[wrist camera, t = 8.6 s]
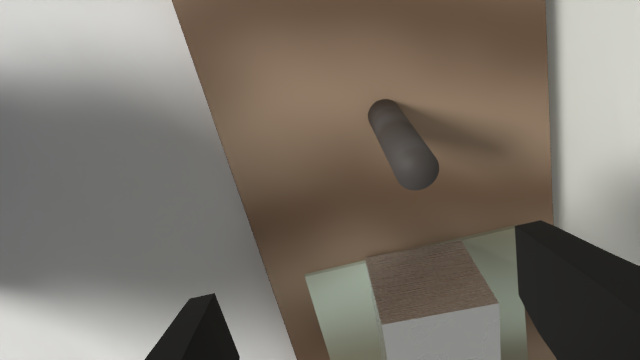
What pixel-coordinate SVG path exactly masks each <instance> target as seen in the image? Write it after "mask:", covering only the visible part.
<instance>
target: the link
mask: <svg viewBox="0 0 640 360" xmlns="http://www.w3.org/2000/svg"><path fill="white" fill-rule="evenodd" d="M365 262H366V268H367V274H368V280H369V286H370V291H371V297H372V303H373V309H374V315H375V321H376V326H377V332H378V338H379V344H380V350H381V356H382V360H501V348H500V315H499V302H498V301H497V299H496V297H495V296H494V294H493V292H492V291H491V289H490V287H489V286H488V284H487V282H486V281H485V279H484V277H483V276H482V274H481V272H480V271H479V269H478V267H477V266H476V264H475V262H474V261H473V259H472V257H471V256H470V254H469V252H468V251H467V249H466V248H465V246H464V244H463V243H462V241H461V240H457V241H452V242H447V243H441V244H436V245H431V246H425V247H420V248H415V249H409V250H404V251H399V252H393V253H388V254H383V255H377V256H372V257H367V258H365Z"/></svg>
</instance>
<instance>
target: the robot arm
mask: <svg viewBox="0 0 640 360" xmlns="http://www.w3.org/2000/svg"><path fill="white" fill-rule="evenodd" d="M515 240H516V258H517V276H518V294H519V297H520V299H521V301H522V303H523V305H524V307H525V309H526V311H527V312H528V314H529V316H530V318H531V320H532V322H533V324H534V325H535V327H536V329H537V331H538V333H539V334H540V336H541V337H542V339H543V340H544V342H545V343H546V344H547V346H548V347H549V349H550V350H551V352H552V353H553V354H554V356H555V357H556V359H557V360H640V266H638V265H635V264H633V263H631V262H629V261H626V260H624V259H622V258H620V257H618V256H615V255H613V254H611V253H609V252H607V251H605V250H603V249H601V248H598V247H596V246H594V245H592V244H590V243H588V242H586V241H584V240H582V239H580V238H578V237H576V236H574V235H572V234H570V233H568V232H565V231H563V230H561V229H559V228H557V227H555V226H553V225H551V224H549V223H546V222H544V221H542V220H539V221H535V222H530V223H526V224H521V225H517V226H515ZM145 360H239V354H238V352H237V349H236V346H235V344H234V341H233V339H232V336H231V334H230V331H229V329H228V326H227V324H226V321H225V319H224V316H223V314H222V311H221V309H220V306H219V303H218V301H217V298H216V296H215V293H214V294H209V295H205V296H200V297H196V298H191V299H189V300H188V302H187V303H186V304H185V306H184V307H183V308H182V310H181V311H180V312H179V314H178V315H177V316H176V318H175V319H174V321H173V322H172V323H171V325H170V326H169V327H168V329H167V330H166V332H165V333H164V334H163V336H162V337H161V338H160V340H159V341H158V342H157V344H156V345H155V346H154V348H153V349H152V350H151V352H150V353H149V354H148V356H147V357H146V358H145Z"/></svg>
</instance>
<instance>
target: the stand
mask: <svg viewBox="0 0 640 360" xmlns="http://www.w3.org/2000/svg"><path fill="white" fill-rule="evenodd" d="M172 3H173V5H174V8H175V11H176V14H177V17H178V20H179V23H180V25H181V28H182V31H183V34H184V37H185V40H186V43H187V46H188V48H189V51H190V54H191V57H192V60H193V63H194V66H195V68H196V71H197V74H198V77H199V80H200V83H201V86H202V89H203V91H204V94H205V97H206V100H207V103H208V106H209V109H210V111H211V114H212V117H213V120H214V123H215V126H216V129H217V131H218V134H219V137H220V140H221V143H222V146H223V149H224V152H225V154H226V157H227V160H228V163H229V166H230V169H231V172H232V174H233V177H234V180H235V183H236V186H237V189H238V192H239V195H240V197H241V200H242V203H243V206H244V209H245V212H246V215H247V217H248V220H249V223H250V226H251V229H252V232H253V235H254V238H255V240H256V243H257V246H258V249H259V252H260V255H261V258H262V260H263V263H264V266H265V269H266V272H267V275H268V278H269V281H270V283H271V286H272V289H273V292H274V295H275V298H276V301H277V303H278V306H279V309H280V312H281V315H282V318H283V321H284V324H285V326H286V329H287V332H288V335H289V338H290V341H291V344H292V346H293V349H294V352H295V355H296V358H297V360H382V356H381V350H380V344H379V338H378V332H377V326H376V321H375V315H374V309H373V303H372V297H371V291H370V286H369V280H368V274H367V268H366V262H365V258H367V257H372V256H377V255H383V254H388V253H393V252H399V251H404V250H409V249H415V248H420V247H425V246H431V245H436V244H441V243H447V242H452V241H457V240H461V241H462V243H463V244H464V246H465V248H466V249H467V251H468V252H469V254H470V256H471V257H472V259H473V261H474V262H475V264H476V266H477V267H478V269H479V271H480V272H481V274H482V276H483V277H484V279H485V281H486V282H487V284H488V286H489V287H490V289H491V291H492V292H493V294H494V296H495V297H496V299H497V301H498V302H499V315H500V348H501V360H557V359H556V357H555V356H554V354H553V353H552V352H551V350H550V349H549V347H548V346H547V344H546V343H545V342H544V340H543V339H542V337H541V336H540V334H539V333H538V331H537V329H536V327H535V325H534V324H533V322H532V320H531V318H530V316H529V314H528V312H527V311H526V309H525V307H524V305H523V303H522V301H521V299H520V297H519V294H518V276H517V258H516V240H515V226H517V225H521V224H526V223H530V222H535V221H539V220H542V221H544V222H546V223H549V224H551V225H553V205H552V177H551V148H550V120H549V92H548V63H547V35H546V7H545V0H172Z"/></svg>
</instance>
